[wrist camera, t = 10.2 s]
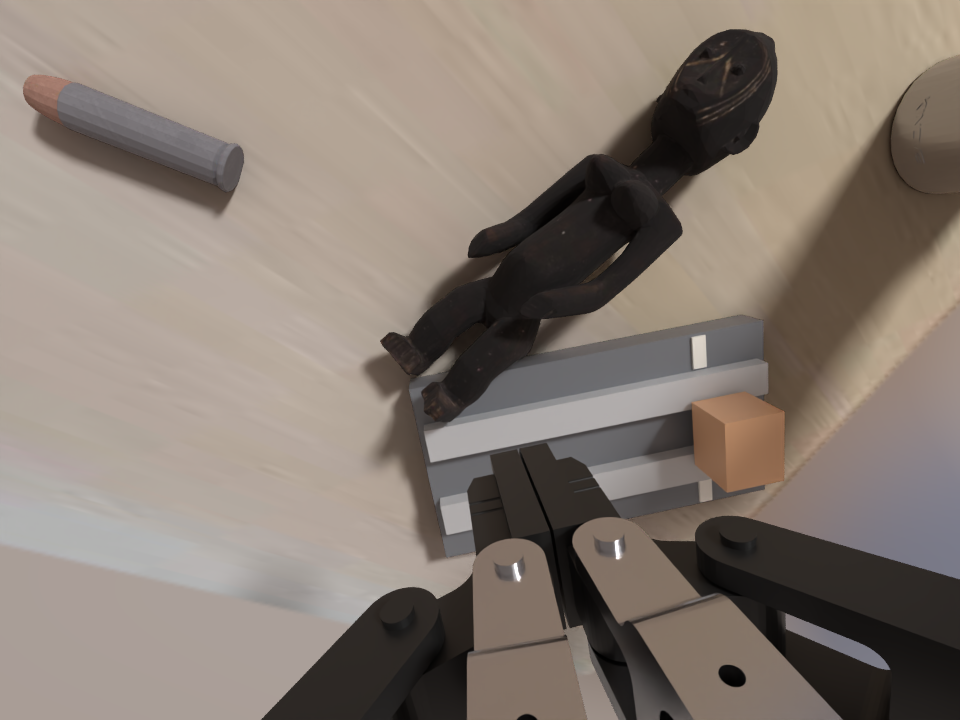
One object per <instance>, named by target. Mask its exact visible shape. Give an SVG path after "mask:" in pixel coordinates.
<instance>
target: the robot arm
mask: <svg viewBox="0 0 960 720" xmlns="http://www.w3.org/2000/svg"><path fill="white" fill-rule="evenodd" d="M891 153H892V157H893V161H894V165H895V167H896V169H897V171H898V173H899V175H900V176H901V177H902V178H903V180H904V181H905V182H906V183H907V184H908V185H910V186H911V187H913V188H914V189H916V190H918V191H921V192H925V193H932V194H943V193H956V192H960V55H957V56H954V57H951V58H948V59H946V60H943V61H941V62H938V63H937V64H935V65H934V66H932V67H931V68H929V69H928V70H926V71H925V72H924V73H923V74H922V75H921V76H920V77H919V78H918V79H917V80H915V81H914V83H913V84H912V85H911V87H910V88H909V90H908V91H907V92H906V94H905V95H904V97H903V99H902V101H901V103H900V105H899V107H898V109H897V112H896V115H895V118H894V121H893V126H892V133H891ZM490 461H491V466H492V471H493V474H491V475H486V476H482V477H477V478H473V480H472V482H471V484H470V486H469V488H468V490H467V495H468V502H469V509H470V515H471V522H472V529H473V536H474V543H475V550H476V559H475V560H474V563H473V573H472V574H471V576H470V577H469V578H468V580H467V581H466V582H465V583H463V584H462V585H461V586H460V587H458V588H457V589H456V590H454V591H452V592H450V593H448V594H446V595H445V596H443V597H441V598H439V599H436V598H435V596H434V595H433V594H432V593H430V592H429V591H427V590H425V589H422V588H416V587H408V588H402V589H398V590H395V591H392V592H390V593H388V594H386V595H384V596H382V597H381V598H379V599H378V600H377V601H375V602H374V603H373V604H372V605H371V606H370V607H369V608H368V609H367V610H366V611H365V612H364V613H363V614H362V615H361V616H360V617H359V618H358V619H357V620H356V621H355V623H354V624H353V625H352V626H351V627H350V628H349V629H348V630H347V631H346V632H345V633H344V634H343V635H342V636H341V637H340V638H339V639H338V640H337V641H336V642H335V643H334V644H333V645H332V647H331V648H330V649H329V650H328V651H327V652H326V653H325V654H324V655H323V656H322V657H321V658H320V659H319V660H318V661H317V662H316V663H315V664H314V665H313V666H312V668H310V669H309V671H307V673H306V674H305V675H304V676H303V677H302V678H301V679H300V680H299V681H298V682H297V683H296V684H295V685H294V686H293V687H292V688H291V689H290V690H289V691H288V692H287V693H286V695H285V696H284V697H283V698H282V699H281V700H280V701H279V702H278V703H277V704H276V705H275V706H274V707H273V708H272V709H271V710H270V711H269V712H268V713H267V714H266V715H265V716H264V718H262V720H587V716H586V712H585V708H584V704H583V700H582V696H581V692H580V687H579V683H578V680H577V675H576V671H575V667H574V663H573V659H572V655H571V651H570V647H569V643H568V639H567V636H566V635H564V631H563V630H564V629H566V623H565V617H564V613H565V616H566V619H567V622H568V625H569V627H570V628H572V627H576V626H580V625H583V628H584V630H585V633H586V635H587V639H588V646H589V652H590V658H591V661H592V664H593V666H594V668H595V670H596V673H597V675H598V677H599V679H600V681H601V683H602V685H603V687H604V689H605V692H606V694H607V696H608V698H609V700H610V702H611V704H612V706H613V709H614V711H615V713H616V715H617V717H618V719H619V720H960V579H956V578H953V577H949V576H946V575H942V574H939V573H935V572H932V571H929V570H925V569H922V568H918V567H915V566H911V565H908V564H905V563H901V562H898V561H894V560H890V559H887V558H884V557H880V556H877V555H874V554H870V553H866V552H863V551H860V550H856V549H852V548H849V547H846V546H843V545H839V544H835V543H832V542H829V541H825V540H822V539H819V538H815V537H811V536H808V535H805V534H801V533H798V532H794V531H791V530H788V529H784V528H780V527H777V526H774V525H770V524H767V523H764V522H760V521H757V520H753V519H749V518H745V517H739V516H721V517H715V518H711V519H709V520H707V521H705V522H703V523H702V524H701V525H700V526H699V527H698V528H697V530H696V533H695V541H660V540H654V539H651V538H650V537H649V536H648V535H647V534H646V532H645V531H644V530H643V529H642V528H641V527H640V526H638V525H637V524H635V523H633V522H631V521H629V520H626V519H622V518H621V517H620V515H619V514H618V512H617V511H616V509H615V508H614V506H613V505H612V503H611V502H610V500H609V499H608V497H607V496H606V495H605V493H604V492H603V490H602V489H601V487H599V484H598V483H597V481H596V480H595V478H593V475H592V474H591V472H590V471H589V469H588V468H587V466H586V465H585V464H583V463H582V462H580V461H578V460H576V459H574V458H572V457H568V458H563V459H559V460H556V459H555V457H554V455H553V453H552V451H551V450H550V448H549V446H548V444H547V443H542V444H538V445H533V446H528V447H524V448H519V453H518V450H517V449H515V450H511V451H506V452H501V453H497V454H492V455H490ZM563 610H564V611H563ZM785 613H787V614H790V615H792V616H794V617H797V618H799V619H802V620H804V621H807V622H809V623H812V624H814V625H817V626H819V627H822V628H824V629H827V630H829V631H832V632H834V633H837V634H839V635H842V636H844V637H846V638H849V639H852V640H854V641H857V642H859V643H861V644H863V645H865V646H867V647H869V648H871V649H872V650H874V651H875V652H876V653H878V654H879V655H880V656H881V657H882V658H883V659H884V660H885V661H886V663H887V664H888V666H889V668H890V670H884V669H879V668H876V667H874V666H871V665H869V664H867V663H864V662H861V661H859V660H857V659H855V658H852V657H850V656H848V655H845V654H843V653H840V652H838V651H836V650H833V649H831V648H829V647H826V646H824V645H822V644H819V643H817V642H815V641H812V640H810V639H807V638H805V637H803V636H800V635H798V634H796V633H793V632H791V631H788V630H786V627H785V626H786V623H785Z"/></svg>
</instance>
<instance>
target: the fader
mask: <svg viewBox="0 0 960 720" xmlns="http://www.w3.org/2000/svg"><path fill="white" fill-rule="evenodd" d="M692 420H693V439H694V458H695V465H696V466H697V467H698V468H699V469H701V470H702V471H703V472H704V473H705V474H706V475H707V476H709V477H710V478H711V479H712V480H713V481H714V482H715V483H716V484H718V485H719V486H720V487H721V488H722V489H723V490H724V491H726V492H727V493H728V492H733V491H738V490H742V489H747V488H752V487H756V486H761V485H766V484H770V483H775V482H780V481H784V434H785V411H783V410H781V409H779V408H777V407H775V406H773V405H771V404H769V403H767V402H765V401H763V400H761V399H759V398H757V397H755V396H753V395H751V394H749V393H747V392H745V391H744V392H739V393H735V394H730V395H725V396H720V397H715V398H710V399H705V400H700V401H695V402H692Z"/></svg>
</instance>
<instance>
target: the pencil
mask: <svg viewBox="0 0 960 720" xmlns="http://www.w3.org/2000/svg"><path fill="white" fill-rule="evenodd" d="M23 94H24V97H25V100H26V101H27V103H28V104H29V105H30V106H31V107H32V108H34V109H35V110H36V111H38V112H40V113H41V114H43V115H44V116H46V117H48V118H50V119H52V120H53V121H55V122H57V123H60V124H62V125H64V126H65V127H67V128H69V129H71V130H73V131H76V132H78V133H81V134H84V135H86V136H89V137H91V138H94V139H97V140H99V141H102V142H104V143H107V144H110V145H112V146H115V147H117V148H120V149H123V150H125V151H128V152H130V153H133V154H136V155H138V156H141V157H143V158H146V159H149V160H151V161H154V162H156V163H159V164H162V165H164V166H167V167H169V168H172V169H175V170H177V171H180V172H182V173H185V174H188V175H190V176H193V177H195V178H198V179H201V180H203V181H206V182H208V183H211V184H214V185H216V186H218V187H219V188H220V189H221V190H223V191H224V192H228V191H232V190H233V189H234V188H235V187H236V185H237V183H238V182H239V179H240V175H241V171H242V167H243V163H244V154H243V150H242V148H241V147H240V146H239V145H238V144H235V143H234V144H228V143H226V142H224V141H221V140H219V139H216V138H214V137H211V136H209V135H206V134H204V133H201V132H199V131H196V130H194V129H191V128H189V127H186V126H184V125H181V124H179V123H176V122H174V121H171V120H169V119H166V118H164V117H161V116H159V115H156V114H154V113H151V112H149V111H146V110H144V109H142V108H139V107H137V106H134V105H132V104H129V103H127V102H124V101H122V100H119V99H117V98H114V97H112V96H109V95H107V94H104V93H102V92H99V91H97V90H94V89H92V88H89V87H87V86H84V85H82V84H79V83H73V82H71V81H67V80H64V79H60V78H57V77H52V76H46V75H32V76H29V77H28V78H27V80H26V81H25V83H24V86H23Z"/></svg>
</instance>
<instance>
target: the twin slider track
mask: <svg viewBox="0 0 960 720" xmlns="http://www.w3.org/2000/svg"><path fill="white" fill-rule="evenodd" d="M448 373H449V372H443V373H438V374H433V375H428V376H423V377H418V378H413V379H410V384H409V393H410V397H411V402H412V406H413V411H414V415H415V420H416V424H417V428H418V433H419V437H420V442H421V446H422V451H423V455H424V460H425V464H426V469H427V473H428V477H429V482H430V486H431V491H432V495H433V500H434V504H435V509H436V513H437V518H438V522H439V527H440V531H441V535H442V540H443V544H444V549H445V553H446V558H447V557H452V556H456V555H461V554H465V553H470V552H475V551H476V550H475V543H474V536H473V529H472V522H471V515H470V509H469V502H468V495H467V490H468V488H469V486H470V484H471V482H472V480H473V478H477V477H482V476H486V475H491V474H493V471H492V466H491V461H490V455H492V454H497V453H501V452H506V451H511V450H515V449H517V450H518V453H519V448H524V447H528V446H533V445H538V444H542V443H547V444H548V446H549V448H550V450H551V451H552V453H553V455H554V457H555V459H556V460H559V459H563V458H568V457H572V458H574V459H576V460H578V461H580V462H582V463H583V464H585V465H586V466H587V468H588V469H589V471H590V472H591V474H592V475H593V478H595V480H596V481H597V483H598V484H599V487H601V489H602V490H603V492H604V493H605V495H606V496H607V497H608V499H609V500H610V502H611V503H612V505H613V506H614V508H615V509H616V511H617V512H618V514H619V515H620V517H621V518H622V519H628V518H633V517H638V516H642V515H647V514H652V513H656V512H661V511H666V510H670V509H675V508H680V507H684V506H689V505H694V504H698V503H703V502H708V501H712V500H717V499H722V498H726V497H731V496H735V495H740V494H745V493H749V492H754V491H759V490H763V489H765V485H761V486H756V487H752V488H747V489H742V490H738V491H733V492H728V493H727V492H726V491H724V490H723V489H722V488H721V487H720V486H719V485H718V484H716V483H715V482H714V481H713V480H712V479H711V478H710V477H709V476H707V475H706V474H705V473H704V472H703V471H702V470H701V469H699V468H698V467H697V466H696V465H695V458H694V439H693V420H692V402H695V401H700V400H705V399H710V398H715V397H720V396H725V395H730V394H735V393H739V392H744V391H745V392H747V393H749V394H751V395H753V396H755V397H757V398H759V399H761V400H763V401H764V395H765V394H768V362H765V361H764V349H763V320H760V319H756V318H752V317H749V316H745V315H737V316H732V317H727V318H722V319H717V320H712V321H706V322H701V323H696V324H691V325H686V326H681V327H676V328H670V329H665V330H660V331H655V332H650V333H645V334H639V335H634V336H629V337H624V338H619V339H614V340H609V341H603V342H598V343H593V344H588V345H583V346H578V347H572V348H567V349H562V350H557V351H552V352H547V353H541V354H536V355H531V356H526V357H523V358H522V359H519V360H517V361H516V362H515V363H513V364H512V365H511V366H510V367H508V368H507V369H506V370H505V371H503V372H502V373H501V374H499V375H498V376H497V377H496V378H495V379H494V380H493V381H492V382H491V383H490V385H489V386H488V388H487V390H486V391H485V392H484V393H483V395H482V396H481V397H480V398H479V399H478V400H477V401H475V402H474V403H473V404H471V405H470V406H468V407H466V408H465V409H464V410H463V411H462V413H461V414H460V415H459V416H457V417H456V418H455V419H453V420H452V421H451V422H435V421H434V420H433V419H432V417H430V416H428V415H427V414H425V412H424V399H423V397H422V395H421V391H422V390H423V389H424V388H425V387H426V386H428V385H429V384H430V383H431V382H441V381H443V379H444V378H445V377H446V376H447V374H448Z"/></svg>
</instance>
